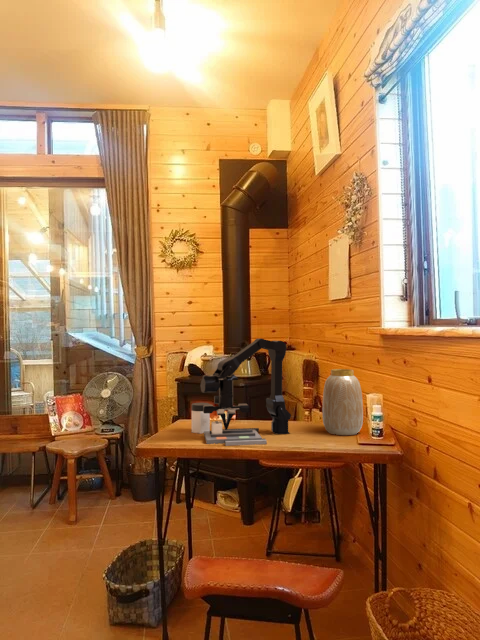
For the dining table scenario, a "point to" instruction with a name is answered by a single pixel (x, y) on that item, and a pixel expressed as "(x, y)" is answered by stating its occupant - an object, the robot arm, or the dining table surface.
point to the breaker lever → (217, 427)
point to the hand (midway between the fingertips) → (226, 429)
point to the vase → (342, 403)
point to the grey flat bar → (245, 442)
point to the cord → (245, 429)
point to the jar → (200, 418)
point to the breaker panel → (230, 435)
